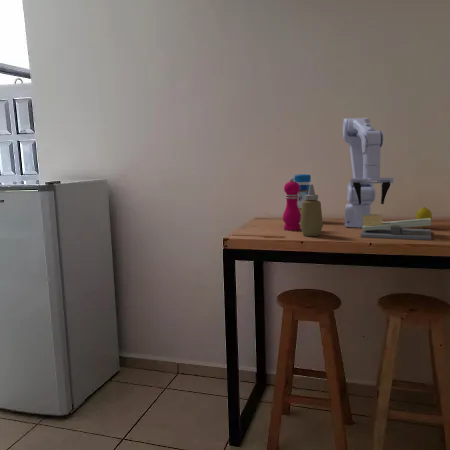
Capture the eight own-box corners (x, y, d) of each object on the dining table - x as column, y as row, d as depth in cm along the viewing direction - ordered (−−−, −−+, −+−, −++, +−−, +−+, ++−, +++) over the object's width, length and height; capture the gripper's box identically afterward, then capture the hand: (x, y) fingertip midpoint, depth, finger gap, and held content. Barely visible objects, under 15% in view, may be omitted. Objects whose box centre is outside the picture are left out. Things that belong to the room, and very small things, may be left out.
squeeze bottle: (321, 237, 158) (321, 185, 156) (297, 236, 161) (297, 185, 159) (324, 233, 166) (324, 183, 163) (302, 232, 169) (302, 183, 166)
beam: (362, 233, 160) (361, 227, 160) (365, 229, 168) (364, 223, 168) (431, 228, 151) (430, 221, 151) (431, 224, 159) (430, 218, 159)
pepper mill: (303, 228, 179) (303, 176, 176) (298, 231, 173) (298, 177, 170) (285, 227, 182) (285, 177, 179) (280, 230, 176) (279, 178, 173)
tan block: (364, 228, 161) (362, 216, 161) (365, 226, 166) (364, 214, 166) (381, 227, 159) (380, 214, 159) (383, 225, 164) (381, 213, 163)
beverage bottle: (316, 222, 194) (316, 174, 191) (297, 223, 192) (297, 175, 189) (307, 219, 202) (307, 174, 199) (289, 220, 200) (289, 174, 197)
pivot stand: (360, 237, 157) (360, 226, 156) (366, 229, 171) (366, 220, 171) (431, 240, 148) (431, 229, 148) (430, 232, 163) (430, 222, 162)
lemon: (433, 229, 168) (434, 207, 167) (417, 229, 169) (417, 208, 168) (429, 227, 173) (430, 206, 172) (414, 227, 174) (414, 206, 173)
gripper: (350, 166, 160) (350, 205, 161) (394, 165, 156) (394, 204, 158) (350, 166, 166) (349, 203, 168) (392, 164, 163) (391, 203, 165)
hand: (371, 204), depth 164 cm, fingers open, 7 cm apart
